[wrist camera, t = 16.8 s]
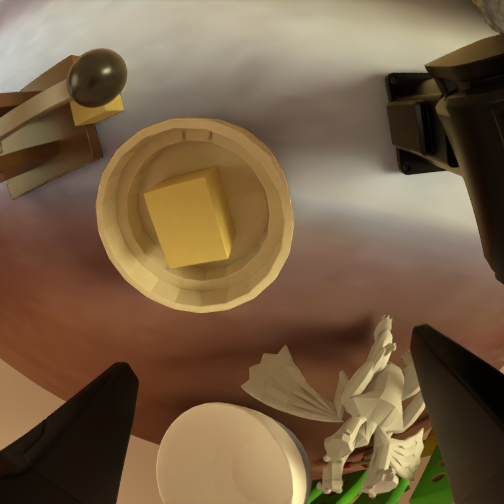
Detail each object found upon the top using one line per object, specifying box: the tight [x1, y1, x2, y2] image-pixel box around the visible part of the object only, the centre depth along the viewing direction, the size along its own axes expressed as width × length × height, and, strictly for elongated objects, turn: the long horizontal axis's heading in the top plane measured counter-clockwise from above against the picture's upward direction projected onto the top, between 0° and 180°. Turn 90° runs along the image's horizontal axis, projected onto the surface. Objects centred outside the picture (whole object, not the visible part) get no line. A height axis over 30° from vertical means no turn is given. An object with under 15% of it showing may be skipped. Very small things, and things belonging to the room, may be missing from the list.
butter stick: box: [70, 94, 124, 126], centre depth 15 cm, size 2×3×2 cm
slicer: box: [0, 55, 103, 200], centre depth 13 cm, size 10×8×9 cm
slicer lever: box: [0, 48, 127, 154], centre depth 11 cm, size 12×3×3 cm, turn 102°
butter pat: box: [144, 166, 236, 269], centre depth 17 cm, size 4×4×4 cm
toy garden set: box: [307, 427, 454, 504], centre depth 23 cm, size 23×19×5 cm
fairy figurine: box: [241, 315, 425, 498], centre depth 17 cm, size 10×18×14 cm, turn 67°
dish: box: [96, 118, 294, 313], centre depth 17 cm, size 11×11×4 cm
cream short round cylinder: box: [156, 402, 312, 504], centre depth 23 cm, size 16×16×10 cm
